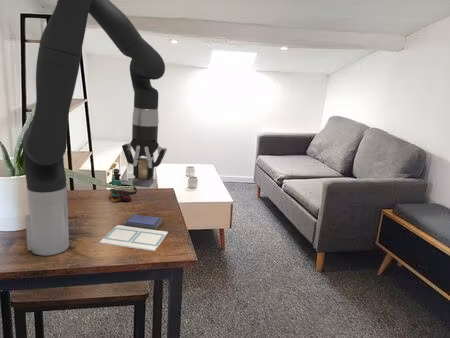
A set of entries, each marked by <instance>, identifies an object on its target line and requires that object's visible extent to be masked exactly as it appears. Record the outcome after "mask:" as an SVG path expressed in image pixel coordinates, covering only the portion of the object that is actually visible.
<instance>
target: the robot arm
mask: <svg viewBox="0 0 450 338" xmlns="http://www.w3.org/2000/svg"><path fill="white" fill-rule="evenodd" d="M89 15H90V16H91V17H92V18H93V19H94V20H95V21H96V23H97V24H98V25H99V26H100V27H101V29H102V30H103V31H104V32H105V34H106V35H107V36H108V37H109V39H110V40H111V41H112V42H113V44H114V45H115V47H116V48H117V49H118V51H119V52H120V53H122V55H123V56H126V57H127V58H130V59H131V60H130V63H129V74H130V80H131V84H132V90H133V93H134V95H133V112H132V126H131V127H132V128H131V130H132V131H131V141H130V142H129V143H125V144H123V145H122V146H121V147H122V151H123V153H124V157H125V160H126V162H127V164H130V165H132V166H133V170H132V171H133V172H132V175H133V177H134V178H138V159H140V158H142V157H144V158H147V161H148V167H149V168H148V174H147V179H148V180H150V179H151V178H152V177H154V174H155V168H158V167H159V166H160V165H161V163H162V161H163V160H164V159H163V158H165V155H166V153H167V148H166V147H161V146H160V144H159V143H158V134H159V133H158V132H159V121H160V120H159V91H158V89H156V88H155V87H153V86H152V83H151V80H153V81H155V80H159V79H161V78H162V77H163V76H164V75H165V71H166V64H165V62H164V61H165V60H164V59H163V57H162V56H161V54H159V52H158V51H157V50H156V49H155V48H154V47H153V45H151V44H149V43H148V41H146V40H145V39H144V38H143V37H142V35H141V34H140V32H139V31H138V30H137V28H136V27H135V26H134V24H133V23H132V21H131V20H130V19H129V18H128V16H126V14H125V13H124V12H123V11H122V10H121V9H120V8H118V7H117V6H116V5H115V4H114V3H113V2H112V1H111V0H57V1H56V5H55V7H54V10H53V12H52V14H51V16H50V18H49V19H48V22H47V24H46V25H45V28H44V29H43V32H42V34H41V36H40V40H39V46H38V52H37V58H36V64H35V65H36V67H35V68H36V69H35V94H36V95H35V96H36V98H35V99H36V100H35V101H36V103H35V109H34V114H33V119H32V122H31V125H30V126H29V127H28V128H27V129H26V130H25V131H24V133H23V136H22V148H23V161H24V172H25V173H24V174H25V175H24V176H25V180H26V181H25V183H26V193H27V205H28V208H27V209H28V214H27V215H25V229H26V232H25V233H26V243H27V244H26V245H27V251H31V252H32V253H33V254H34V255H38V256H45V257H46V256H54V255H57V254H61V253H63V252H65V251H67V250H68V248H69V246H70V237H69V215H68V214H69V213H68V212H69V211H68V210H69V209H68V195H67V194H68V192H67V189H68V188H67V175H66V171H65V164H64V163H65V161H64V155H65V153H66V152H67V143H68V126H69V125H68V124H69V114H70V109H71V104H72V100H73V97H74V94H75V89H76V86H77V85H76V84H77V79H78V74H79V71H80V65H81V59H82V53H83V52H82V51H83V46H84V45H83V44H84V39H85V34H86V30H87V23H88V19H89V18H88V17H89ZM131 150H133V151H134V156H133V154H132V151H131ZM156 151H157V157H156V160H155V156H154V155H155V154H154V153H155V152H156Z"/></svg>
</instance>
